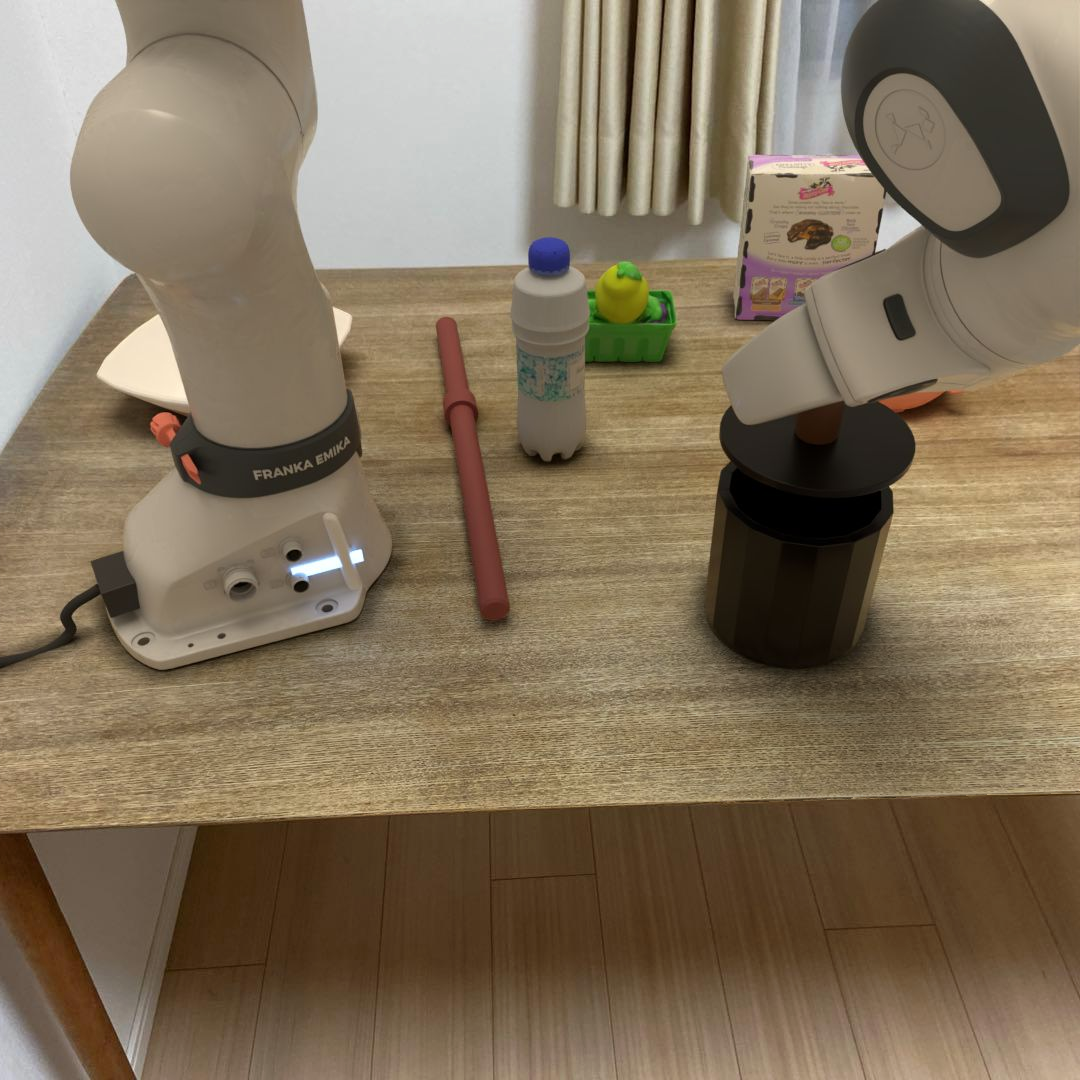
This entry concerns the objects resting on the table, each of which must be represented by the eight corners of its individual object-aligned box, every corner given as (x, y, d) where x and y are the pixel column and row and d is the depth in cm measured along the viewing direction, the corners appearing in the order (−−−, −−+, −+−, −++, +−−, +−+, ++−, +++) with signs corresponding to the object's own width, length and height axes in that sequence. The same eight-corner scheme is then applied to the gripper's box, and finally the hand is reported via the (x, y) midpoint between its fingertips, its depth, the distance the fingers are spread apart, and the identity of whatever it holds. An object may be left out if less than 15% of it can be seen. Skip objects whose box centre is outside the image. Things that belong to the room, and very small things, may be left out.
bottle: (581, 472, 91) (583, 260, 78) (508, 464, 92) (498, 254, 79) (593, 430, 96) (597, 225, 83) (524, 424, 97) (517, 220, 84)
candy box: (855, 299, 115) (883, 152, 105) (862, 324, 111) (893, 173, 100) (731, 296, 116) (747, 150, 106) (734, 321, 112) (750, 171, 101)
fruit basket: (668, 332, 110) (675, 232, 103) (675, 374, 103) (683, 270, 96) (563, 333, 111) (563, 233, 103) (563, 375, 104) (562, 271, 97)
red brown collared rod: (432, 339, 110) (430, 313, 108) (461, 336, 110) (459, 310, 108) (475, 629, 76) (472, 598, 74) (517, 624, 76) (515, 593, 74)
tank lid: (808, 530, 60) (833, 397, 55) (680, 433, 69) (689, 308, 63) (953, 463, 65) (990, 335, 59) (817, 380, 73) (838, 260, 68)
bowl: (82, 428, 98) (64, 381, 95) (207, 325, 114) (196, 281, 110) (280, 467, 92) (268, 418, 89) (383, 353, 108) (377, 308, 105)
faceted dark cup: (775, 693, 70) (799, 568, 63) (673, 596, 78) (684, 475, 71) (896, 629, 75) (931, 505, 68) (788, 544, 83) (809, 425, 75)
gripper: (1095, 199, 55) (925, 295, 68) (790, 284, 48) (666, 373, 61) (1138, 308, 55) (959, 383, 68) (838, 409, 48) (702, 472, 61)
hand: (818, 379), depth 64 cm, fingers closed on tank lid, 3 cm apart
